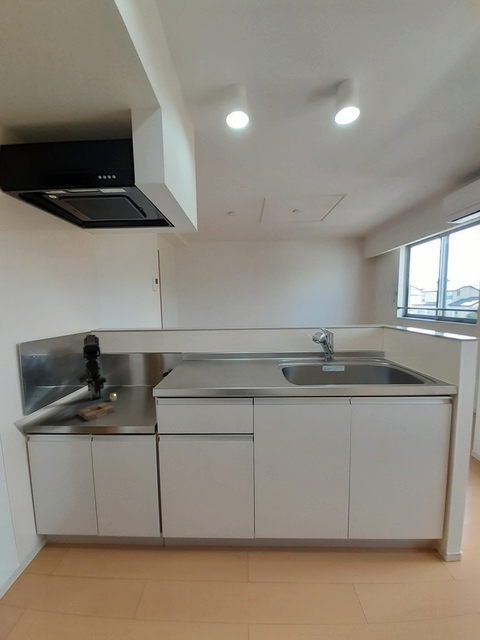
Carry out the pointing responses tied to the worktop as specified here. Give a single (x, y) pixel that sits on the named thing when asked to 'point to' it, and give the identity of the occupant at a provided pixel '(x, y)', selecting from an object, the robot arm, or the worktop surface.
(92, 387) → the tall pin
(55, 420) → the worktop surface
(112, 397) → the short pin
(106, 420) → the worktop surface
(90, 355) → the robot arm
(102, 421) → the worktop surface
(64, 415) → the worktop surface
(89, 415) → the hole plate
